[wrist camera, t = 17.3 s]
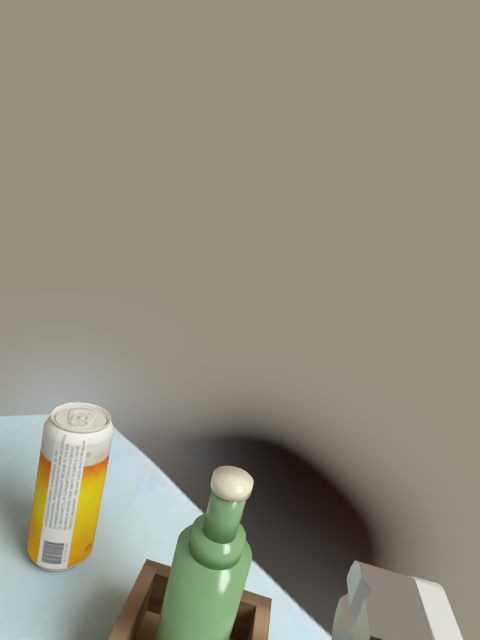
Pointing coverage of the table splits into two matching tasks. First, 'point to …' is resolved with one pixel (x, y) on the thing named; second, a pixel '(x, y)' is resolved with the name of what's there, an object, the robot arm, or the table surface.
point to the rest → (147, 599)
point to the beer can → (69, 485)
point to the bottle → (209, 565)
